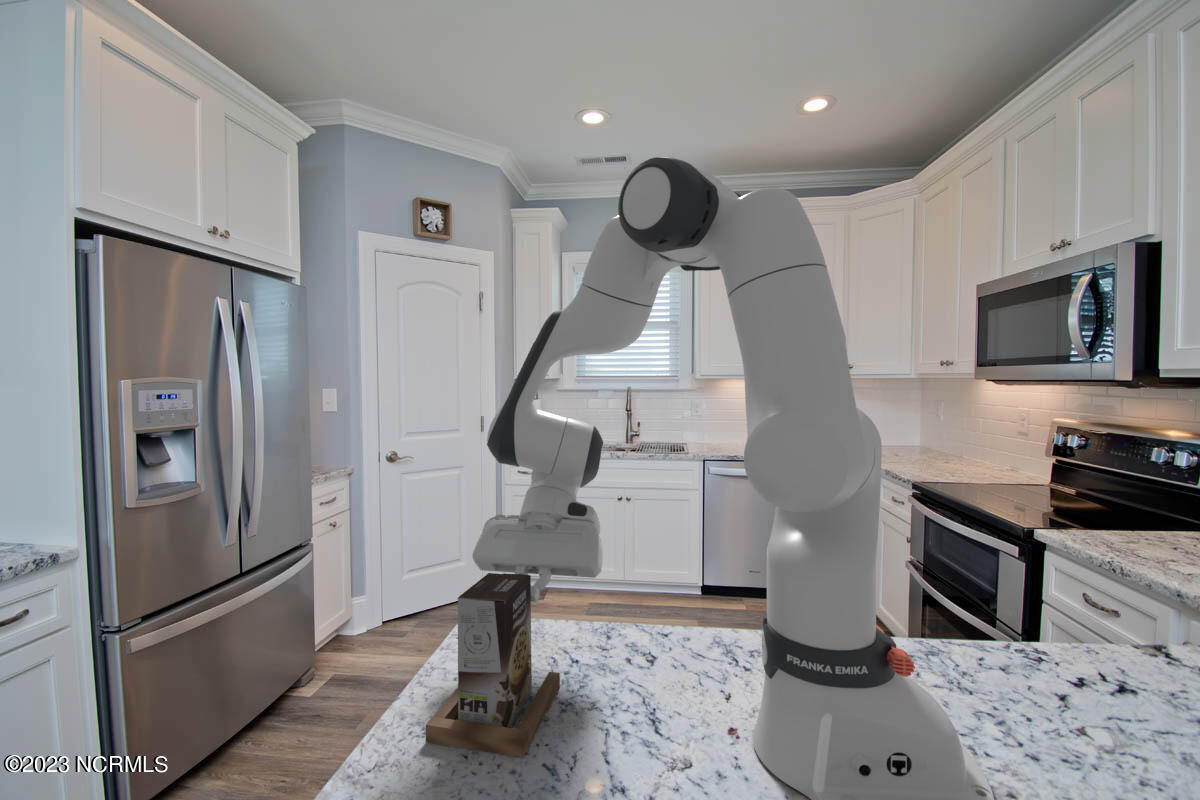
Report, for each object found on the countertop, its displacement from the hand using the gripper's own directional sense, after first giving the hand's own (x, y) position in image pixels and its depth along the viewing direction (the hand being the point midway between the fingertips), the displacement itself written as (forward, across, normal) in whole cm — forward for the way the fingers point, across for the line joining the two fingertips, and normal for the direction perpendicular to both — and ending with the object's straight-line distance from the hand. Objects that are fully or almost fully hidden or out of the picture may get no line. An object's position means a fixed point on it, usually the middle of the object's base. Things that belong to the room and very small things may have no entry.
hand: (526, 600), depth 73 cm
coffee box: (+14, 0, 0) cm, 14 cm away
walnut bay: (+14, 0, +1) cm, 14 cm away
